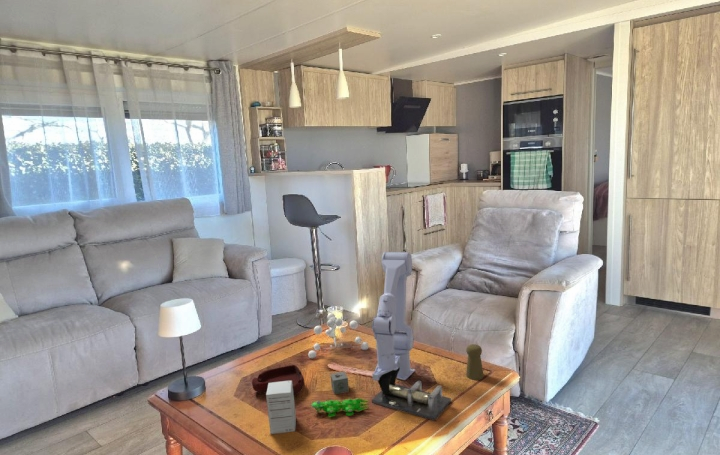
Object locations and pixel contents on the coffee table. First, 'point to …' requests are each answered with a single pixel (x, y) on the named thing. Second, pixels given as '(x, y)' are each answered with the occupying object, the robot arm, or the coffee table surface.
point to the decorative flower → (331, 333)
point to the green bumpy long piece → (340, 406)
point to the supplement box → (281, 407)
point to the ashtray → (279, 378)
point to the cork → (474, 362)
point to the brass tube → (403, 393)
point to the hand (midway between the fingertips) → (388, 391)
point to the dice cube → (339, 382)
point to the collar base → (413, 407)
